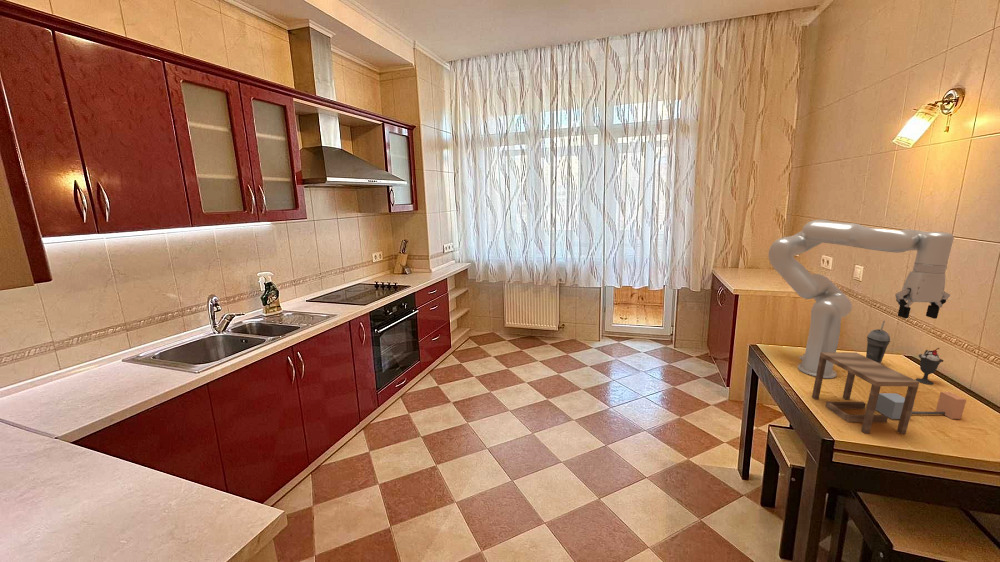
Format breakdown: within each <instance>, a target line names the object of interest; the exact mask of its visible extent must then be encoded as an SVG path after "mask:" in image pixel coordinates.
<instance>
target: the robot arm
mask: <svg viewBox="0 0 1000 562" xmlns="http://www.w3.org/2000/svg"><path fill="white" fill-rule="evenodd" d="M823 243H824V244H831V245H838V246H846V247H850V248H851V247H852V248H858V249H865V250H869V251H870V250H872V251H876V252H877V251H879V252H887V253H896V254H897V253H898V254H899V253H900V254H902V253H905V252H910V251H916V254H915V255H916V256H915V259H914V263H913V267H912V270H911V271H909V273H908V274H907V276H906V279H905V280H904V284H903V286H902V290H900V291H898V292H896V293H895V298H896V302H897V303H898V304H897V305H898V306H899V308H898V313H897V317H900V318H902V319H909V316H910V313H911V309H912V308H911V307H910V306H911V305H912V304H914V303H929V304H928V306H927V309H926V314H925V316H926V317H928V318H930V319H935V320H936V319H937V318H938V315H939V311H940V308H942V307H943V305H944V304H945V303H946V302H947V300H949V297H951V294H950V293H948V292H946V291H945V288H946V270H947V269H948V267H947V266H948V262H949V258H950V254H951V250H952V247H953V243H954V235H953V234H952V233H950V232H943V231H922V230H921V231H920V230H917V229H911V228H906V229H905V228H904V229H899V230H898V229H897V230H895V229H885V228H884V229H883V228H874V227H866V226H863V225H862V224H859V223H852V222H840V221H831V220H829V219H816V220H815V219H814V220H811V221H808V222H807V223H806V224H804V225H803V227H802V230H800V231H799V232H797V233H795V234H793V235H789V236H784V237H780V238H777V239H776V240H775V241H773V243H772V244H771V246H770V247H769V249H768V260H769V263H770V265H771V266H772V268H773V269H774V270H775V272H777V273H778V274H779V276H780V277H782V279H783V280H785V282H786V283H787V285H789V286H790V288H791V289H792V290H793V291H794V292H795V293H796V294H797V295H798V296H799V297H801V298H802V299H805V300H812V299H814V301H815V302H814V303H813V305H812V306H811V309H810V323H809V330H808V337H807V342H806V346H805V352H804V354H802V355H799V357H798V359H800V360H801V363H798V364H797V369H798V370H799V371H800V372H802V373H803V374H806V375H808V374H809V375H808V376H811V375H812V376H811V377H815V376H816V373H817V368H818V363H819V358H820V352H837V349H838V346H839V345H838V344H839V340H840V335H841V334H840V333H841V327H842V326H841V324H842V323H841V322H842V319H843V318H844V317H847V316H848V315H849V314H850V313H851V311H852V309H853V305H852V302H851V300H850V299H849V298H848V297H847V295H846V293H844V292H843V291H842V290H841V289H840V288H839V287H838V286H837V285H836V284H835V283H834V282H833V281H832V280H830V279H829V277H827V276H825V275H823V274H820V273H811V272H810V271H809V270H808V269H807V268H806V267H805V266H804V265H803V264H802V263H801V262H799V261H798V260H797V259H796V258H795V256H799V255H801V254H803V253H806V252H807V251H809V250H811V249H813V248H815V247H817V246H819V245H821V244H823ZM834 365H835V364H833V363H831V362H830V361H828V360H826V365H825V370H824V375H823V379H834V377H835V378H836V377H837V375H838V374H837V371H835V370H834V369H833V368H834Z"/></svg>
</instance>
